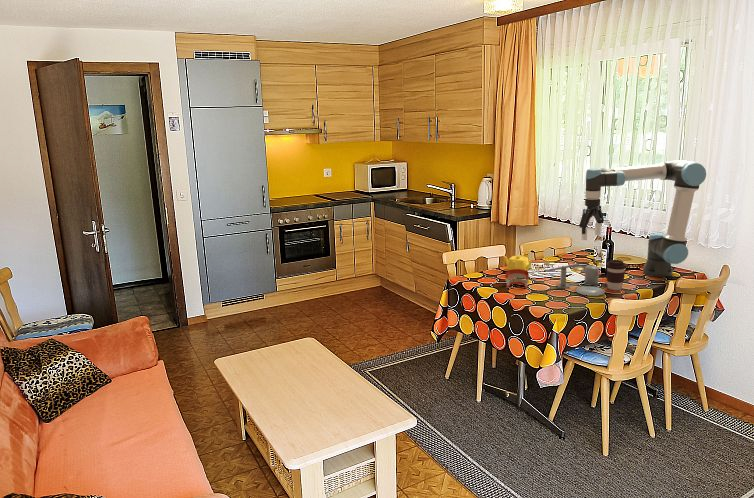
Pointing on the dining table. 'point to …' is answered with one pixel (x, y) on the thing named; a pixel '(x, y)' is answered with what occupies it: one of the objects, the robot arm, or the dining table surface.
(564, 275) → the balance
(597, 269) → the grey rounded capsule
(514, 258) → the teapot
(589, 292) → the pale grey round disc
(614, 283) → the coffee cup
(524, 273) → the toy
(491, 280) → the dining table surface
